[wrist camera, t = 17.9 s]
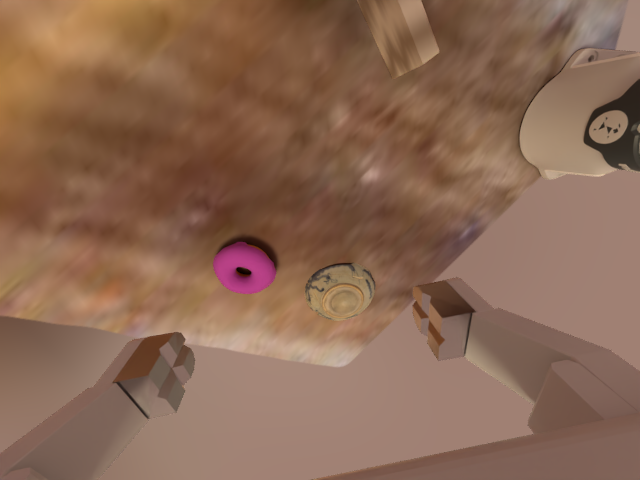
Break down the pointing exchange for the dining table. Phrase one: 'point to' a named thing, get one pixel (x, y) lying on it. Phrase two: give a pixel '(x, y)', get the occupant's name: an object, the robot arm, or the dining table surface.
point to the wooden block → (400, 33)
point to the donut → (246, 258)
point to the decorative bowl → (340, 291)
